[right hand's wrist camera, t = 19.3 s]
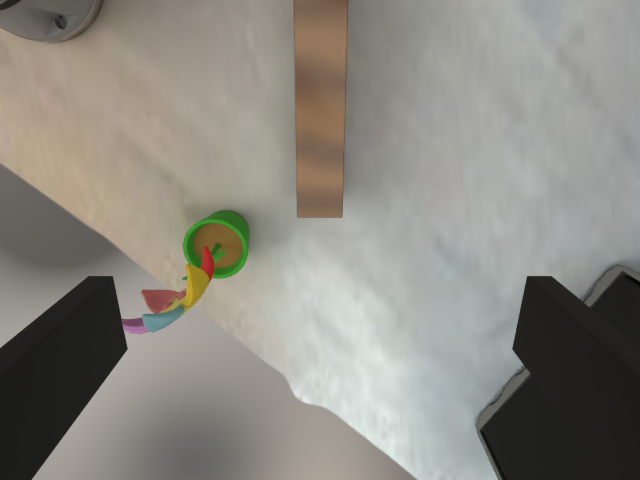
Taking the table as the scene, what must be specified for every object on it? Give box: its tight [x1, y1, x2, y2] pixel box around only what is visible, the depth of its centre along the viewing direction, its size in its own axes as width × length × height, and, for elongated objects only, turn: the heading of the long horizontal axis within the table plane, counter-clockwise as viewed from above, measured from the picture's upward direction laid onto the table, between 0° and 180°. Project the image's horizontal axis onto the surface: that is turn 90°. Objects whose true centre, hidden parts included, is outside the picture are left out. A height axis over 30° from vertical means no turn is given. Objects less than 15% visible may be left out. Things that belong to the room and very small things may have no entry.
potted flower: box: [122, 211, 249, 334], centre depth 43 cm, size 9×8×25 cm
